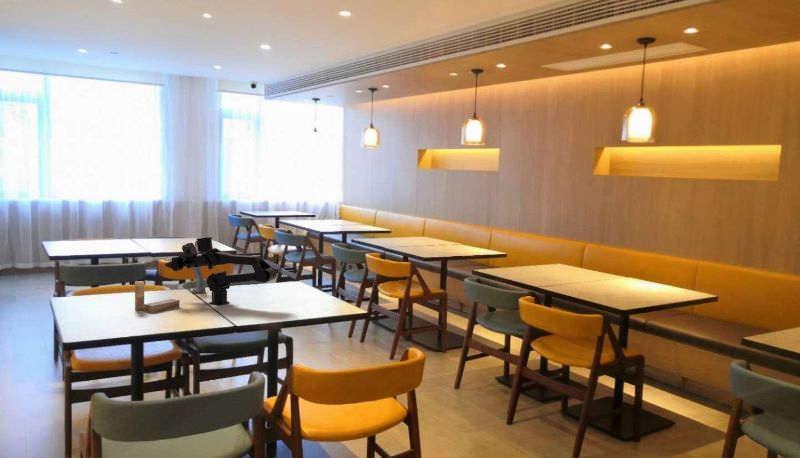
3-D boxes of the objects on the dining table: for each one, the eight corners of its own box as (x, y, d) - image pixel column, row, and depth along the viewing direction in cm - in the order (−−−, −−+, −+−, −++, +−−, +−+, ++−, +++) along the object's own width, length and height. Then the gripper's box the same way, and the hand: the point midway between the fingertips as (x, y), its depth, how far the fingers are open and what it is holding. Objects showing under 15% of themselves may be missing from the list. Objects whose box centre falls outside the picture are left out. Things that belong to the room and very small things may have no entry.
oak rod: (146, 309, 245) (146, 281, 244) (138, 311, 242) (138, 283, 241) (140, 308, 247) (140, 280, 246) (133, 310, 244) (133, 282, 243)
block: (179, 307, 252) (179, 300, 252) (151, 312, 240) (151, 305, 240) (171, 305, 255) (171, 298, 254) (144, 311, 243) (144, 304, 242)
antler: (206, 293, 283) (206, 243, 281) (189, 294, 280) (189, 243, 278) (204, 289, 293) (205, 240, 291) (188, 289, 290) (188, 240, 288)
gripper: (209, 241, 272) (181, 244, 277) (185, 244, 254) (155, 248, 259) (213, 264, 273) (185, 267, 277) (188, 269, 255) (159, 273, 259)
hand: (171, 263), depth 268 cm, fingers open, 9 cm apart
